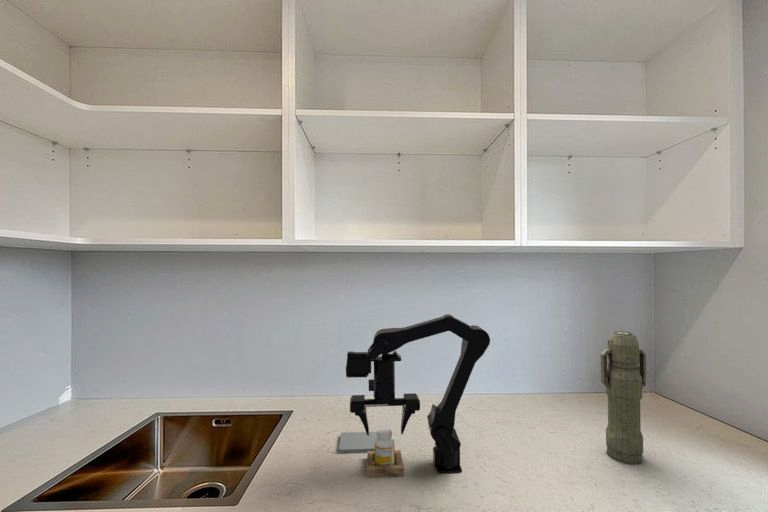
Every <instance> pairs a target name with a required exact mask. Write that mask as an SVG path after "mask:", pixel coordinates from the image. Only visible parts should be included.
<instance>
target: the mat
mask: <svg viewBox="0 0 768 512" xmlns="http://www.w3.org/2000/svg"><path fill="white" fill-rule="evenodd" d="M376 438H377V431H369V436H367V433H366V431H353V432H352V431H351V432H349V431H347V432H340V439H339V445H338V454H350V453H351V454H352V453H353V454H354V453H355V454H356V453H367V451H375V439H376Z"/></svg>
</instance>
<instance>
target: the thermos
mask: <svg viewBox="0 0 768 512" xmlns="http://www.w3.org/2000/svg"><path fill="white" fill-rule="evenodd" d="M600 382H601V384H603V385H604V386H605V394H606V395H607V423H608V424H607V426H606V428H605V445H606V448H607V449H606V455H607V456H608V457H609V458H611V459H612V460H614V461H616V462H618V463H622V464H626V465H631V466H632V465H633V466H634V465H641V464H642V463H643V459H644V458H643V453H644V436H643V433H642V431H641V430H642V429H641V428H642V427H641V424H642V423H641V400H642V398H643V389H644V387H646V386H647V385H646V384H647V354H646V353H645V351H644V350H643V349H641V348H640V344H639V341H638V338H637V336H636V334H633V332H628V331H621V330H618V331H617V330H615V331H613V332H610V333H609V337H608V339H607V348H605V349H604V348H603V350H602V351H601V353H600Z"/></svg>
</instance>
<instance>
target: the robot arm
mask: <svg viewBox="0 0 768 512" xmlns="http://www.w3.org/2000/svg"><path fill="white" fill-rule="evenodd" d="M446 332H451V333H452V334H454V335H456V336H457V337H459V338H460V339H462V341H461V347H460V348H461V349H460V354H459V355H460V356H459V358H458V360H457V363H456V365H455V368H454V369H453V370H454V371H453V373H452V375H451V378H450V380H449V382H448V384H447V388H446V390H445V392H444V394H443V397H442V399H441V402H440V403H438V404H437V405H435V404H432V405H431V409H430V412H429V414H427V416H426V417H427V425H428V429H429V432H430V437H431V438H432V439H433V441H434V446H433V447H432V463H433V465H434V467H435V469H436V470H437V471H436V472H437V473H441V474H442V473H462V472H463V469H462V466H461V446H462V444H461V443H462V442H461V441H460V438H459V436H458V433H457V431H456V429H455V423H456V422H455V421H456V411H457V409H458V406H459V404H460V401H461V398H462V396H463V394H464V392H465V390H466V387H467V385H468V382H469V380H470V376H471V374H472V372H473V370H474V367H475V364H476V363H477V362H478V361H479V360H480V359H481V358H482V357H483V355H484V354H485V352H486V351H487V349H488V348H489V346H490V344H491V343H490V342H491V338H490V335H489V333H488V332H487V331H486V330H485V329H483V328H482V327H480V326H479V325H476V324H475V325H473V324H472V325H469V324H467V323H466V322H463V321H462V320H460V319H458V318H456V317H455V316H453V315H452V314H450V313H449V314H444V315H443V316H440V317H439V316H438V317H436V318H433V319H429V320H426V321H425V320H424V321H422V322H419V323H415V324H412V325H408V326H405V327H390V328H380V329H379V330H377V331H376V332H375V334H374V336H373V341H372V343H371V345H370V346H369V347H368V349H367V351H358V352H357V351H353V350H352V351H351V350H350V351H347V353H346V354H347V355H346V357H347V358H346V364H345V377H346V378H350V379H351V378H368V376H370V375H369V374H372V362H373V379H368V392H373V398H366V396H365V394H358V395H357V394H352V395H351V396H350V399H349V412H350V413H351V414H354V416H355V417H357V416H358V417H359V419H360V421H361V423H362V425H363V429H364V430H365V432H366V433H367V436H369V432H370V430H369V429H370V427H369V420H368V419H369V418H368V414H367V408H369V407H371V408H374V407H399V406H402V409H401V410H402V411H401V412H402V413H401V424H400V434H401V435H403V434H404V433H405V429H406V427H407V424H408V422H409V420H410V418H411V416H412V415H414V414H416V411H420V410H421V401H420V398H419V395H418V394H417V393H413V392H412V393H403V395H402V396H403V397H398V398H397V397H396V379H395V378H396V376H395V374H396V372H395V371H396V370H395V369H396V366H395V362H401V361H402V356H401V355H400V354H399V353H398V352H397V351H396V350H399V349H401V348H402V347H403V346H404V345H407V344H408V343H411V342H415V341H418V340H422V339H425V338H426V339H427V338H429V337H433V336H436V335H438V334H439V335H440V334H442V333H446Z"/></svg>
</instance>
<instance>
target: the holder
mask: <svg viewBox="0 0 768 512" xmlns="http://www.w3.org/2000/svg"><path fill="white" fill-rule="evenodd" d="M366 454H367V457H366V458H367V460H366V461H367V462H366V463H367V464H366V465H367V478H381V477H404V476H405V473H404V472H405V467H404V462H403V457H402V451H401V449H396V450H395V465H389V466H375V465H374V462H375V451H367V452H366Z"/></svg>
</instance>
